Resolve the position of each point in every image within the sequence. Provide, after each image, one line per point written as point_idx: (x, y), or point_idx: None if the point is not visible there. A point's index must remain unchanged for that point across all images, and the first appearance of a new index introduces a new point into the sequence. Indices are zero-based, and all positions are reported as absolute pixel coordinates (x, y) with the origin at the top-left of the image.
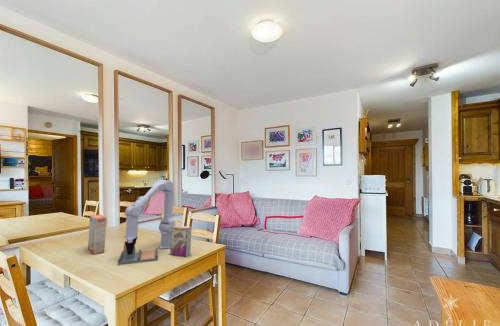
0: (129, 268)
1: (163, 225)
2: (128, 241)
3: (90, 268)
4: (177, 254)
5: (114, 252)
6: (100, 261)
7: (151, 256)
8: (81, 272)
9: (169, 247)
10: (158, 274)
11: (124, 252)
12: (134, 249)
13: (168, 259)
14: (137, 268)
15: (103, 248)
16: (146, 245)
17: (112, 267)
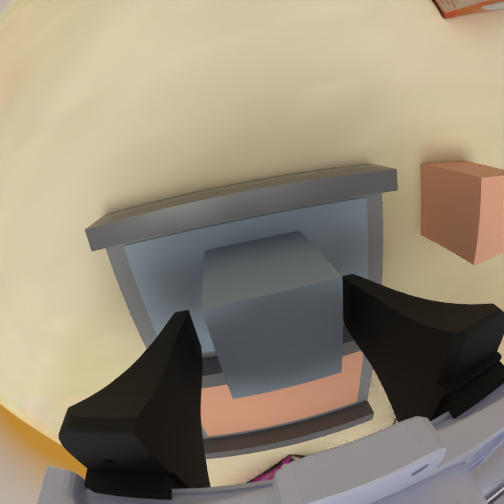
0: (54, 326)
1: (492, 483)
2: (45, 488)
3: (70, 17)
4: (262, 479)
5: (449, 87)
6: (233, 6)
7: (241, 419)
8: (20, 15)
9: (396, 422)
10: (44, 433)
11: (427, 174)
12: (231, 389)
13: (213, 461)
14: (66, 368)
15: (463, 5)
16: (497, 286)
17: (56, 189)
